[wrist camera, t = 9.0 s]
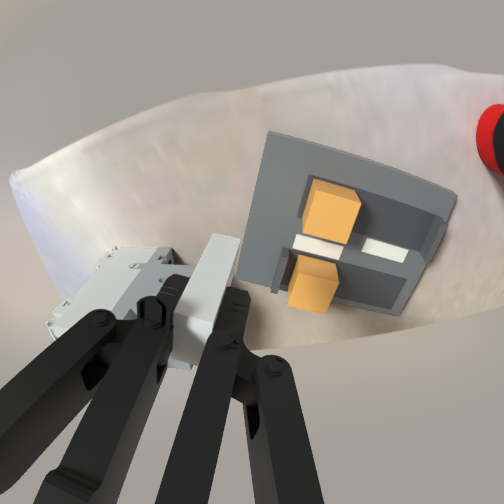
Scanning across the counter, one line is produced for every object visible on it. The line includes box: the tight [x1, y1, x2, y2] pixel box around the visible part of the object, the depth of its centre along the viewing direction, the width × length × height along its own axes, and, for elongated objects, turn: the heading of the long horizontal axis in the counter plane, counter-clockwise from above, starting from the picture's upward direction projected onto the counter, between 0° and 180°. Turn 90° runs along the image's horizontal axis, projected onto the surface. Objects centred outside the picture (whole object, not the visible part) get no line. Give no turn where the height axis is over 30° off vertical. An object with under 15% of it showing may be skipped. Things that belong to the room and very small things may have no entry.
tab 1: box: [302, 179, 361, 244], centre depth 28 cm, size 4×4×4 cm
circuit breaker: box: [46, 246, 196, 370], centre depth 31 cm, size 8×14×15 cm, turn 93°
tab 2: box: [287, 255, 339, 314], centre depth 31 cm, size 4×4×4 cm
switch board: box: [235, 131, 458, 316], centre depth 31 cm, size 20×16×4 cm
